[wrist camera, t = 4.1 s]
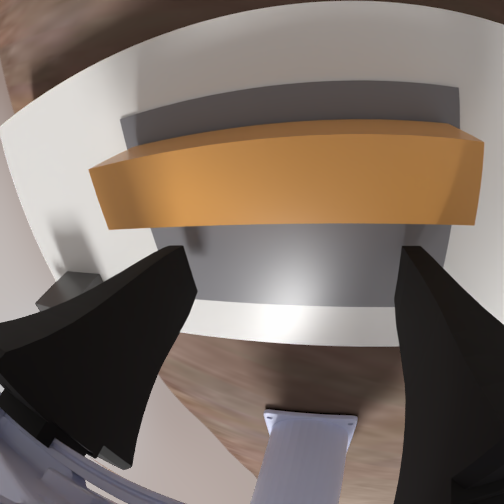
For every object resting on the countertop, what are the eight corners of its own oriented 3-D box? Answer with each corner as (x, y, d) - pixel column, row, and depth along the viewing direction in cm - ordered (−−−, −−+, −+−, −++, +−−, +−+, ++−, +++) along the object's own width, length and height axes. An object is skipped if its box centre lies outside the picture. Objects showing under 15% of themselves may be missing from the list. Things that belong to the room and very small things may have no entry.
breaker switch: (445, 188, 7) (474, 225, 5) (148, 198, 10) (108, 230, 8) (447, 123, 6) (484, 142, 4) (134, 146, 9) (88, 169, 7)
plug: (99, 274, 14) (65, 311, 12) (121, 316, 16) (93, 354, 13) (54, 270, 15) (24, 300, 13) (74, 307, 17) (48, 337, 14)
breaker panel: (540, 295, 11) (560, 331, 8) (96, 285, 20) (72, 312, 17) (578, 73, 4) (617, 83, 2) (35, 113, 13) (-4, 128, 11)
